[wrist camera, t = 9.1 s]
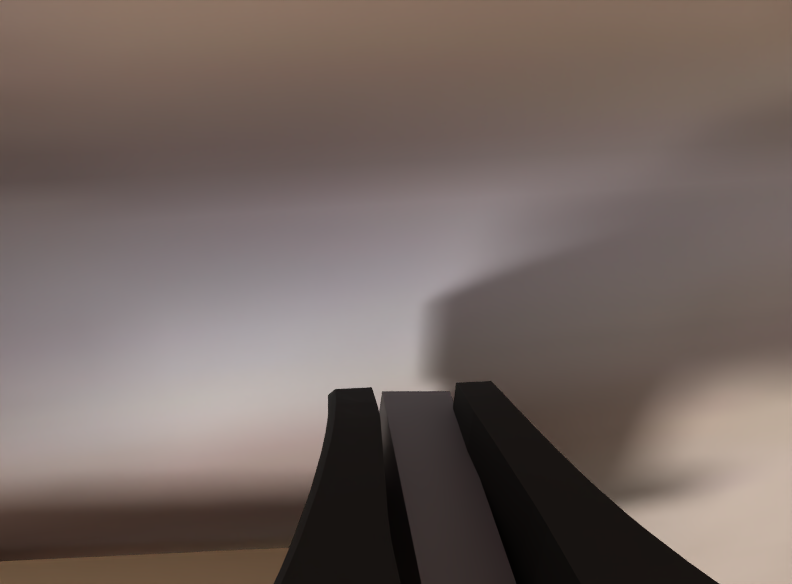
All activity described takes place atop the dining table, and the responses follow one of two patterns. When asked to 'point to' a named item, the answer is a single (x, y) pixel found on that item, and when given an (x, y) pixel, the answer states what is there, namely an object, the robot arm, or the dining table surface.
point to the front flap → (407, 512)
